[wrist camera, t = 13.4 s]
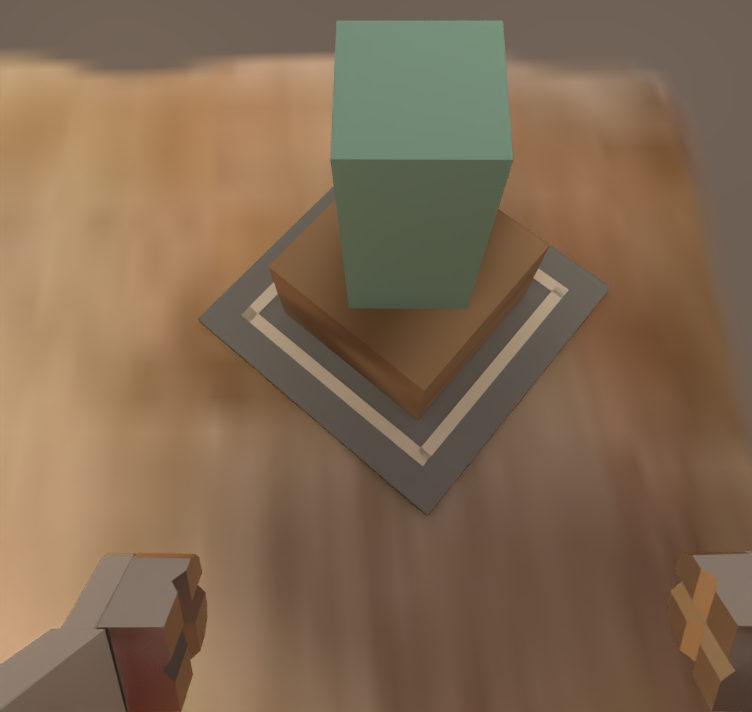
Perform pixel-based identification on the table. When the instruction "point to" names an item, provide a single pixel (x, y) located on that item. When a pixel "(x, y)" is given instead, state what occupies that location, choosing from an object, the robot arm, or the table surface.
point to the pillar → (418, 157)
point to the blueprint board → (374, 408)
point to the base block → (403, 311)
